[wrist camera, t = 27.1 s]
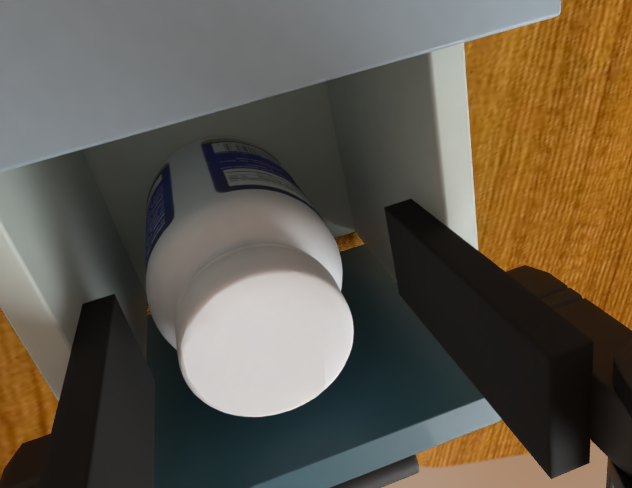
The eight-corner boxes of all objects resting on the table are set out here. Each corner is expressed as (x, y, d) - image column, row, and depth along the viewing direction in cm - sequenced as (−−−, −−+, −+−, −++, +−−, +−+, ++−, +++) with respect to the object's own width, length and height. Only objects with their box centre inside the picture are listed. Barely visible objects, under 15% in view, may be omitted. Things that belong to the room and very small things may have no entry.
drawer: (403, 353, 26) (521, 529, 18) (178, 434, 25) (190, 669, 16) (328, -89, 17) (498, -156, 9) (-35, -4, 16) (-256, 15, 7)
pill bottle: (205, 293, 21) (235, 475, 13) (114, 189, 18) (84, 342, 10) (318, 217, 21) (415, 357, 13) (243, 102, 18) (309, 193, 10)
